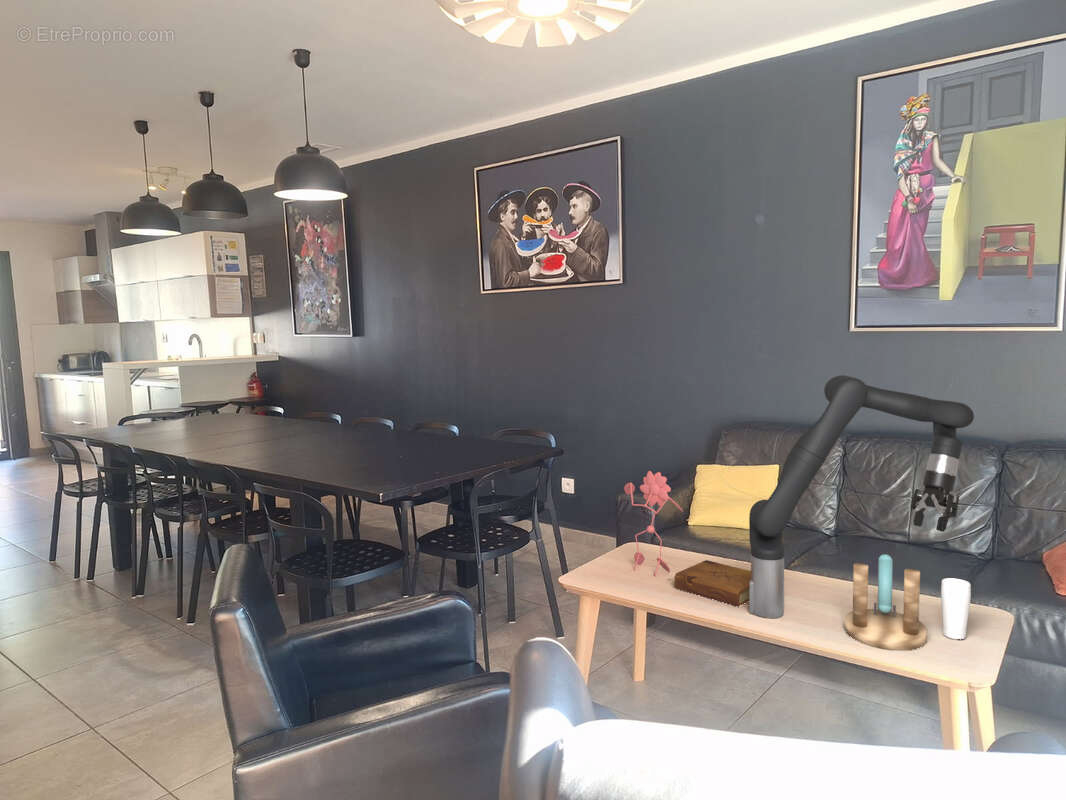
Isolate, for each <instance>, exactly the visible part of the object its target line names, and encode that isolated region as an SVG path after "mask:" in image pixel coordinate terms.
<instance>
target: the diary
mask: <svg viewBox="0 0 1066 800" xmlns="http://www.w3.org/2000/svg"><path fill="white" fill-rule="evenodd" d="M674 574H675V575H674V589H675V588H676V589H675V590H678V589H680V590H679V591H681V590H683V591H682V592H685V591H686V592H685V593H688V592H689V593H688V594H692V593H693V594H692V595H695V594H696V595H695V596H698V595H700V596H699V597H702V596H703V598H705V597H707V598H706V599H709V598H710V599H709V600H712V599H714V600H713V601H715V600H717V601H716V602H719V601H720V602H719V603H722V602H724V603H723V604H725V603H727V605H729V604H731V605H730V606H732V605H734V606H733V607H736V606H738V607H737V608H740V607H739V606H740V605H742V604H744V603H746V602H748V601H749V597H750V580H751V570H747V569H744V568H741V567H740V568H739V567H735V566H732V565H728V564H723V563H719V562H717V561H715V562H714V561H711V560H707V559H705V560H703V561H701V562H698V563H696V564H693V565H691V566H689V567H686V568H685V569H683V570H680V571H678V572H675V573H674ZM748 603H749V602H748ZM746 604H747V603H746ZM744 605H745V604H744ZM742 606H743V605H742Z"/></svg>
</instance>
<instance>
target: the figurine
mask: <svg viewBox="0 0 1066 800" xmlns="http://www.w3.org/2000/svg"><path fill="white" fill-rule="evenodd" d="M667 480H668V479H667V477H666V476H662V473H661V472H660V471H658V472H656V473H655V474H653V472H652V471H651V470H648V471H647V474H646V476H644V477H643V484H641V485H640V486H639V490H640V491H641V492H642V493H643V499H644V500H646V501H645V504H641V503H640V504H637V503H636V504H635V503H634V498H633V496H634V495H633V493H634V492H635V489H636V487H635V485H634V484H633V483H632V482H629V483H626V484H625V485H624V487H623V491H624V492H625V494H626V495H627V496H629V495H630V497H631V506H636V507H644V508H647V509H648V510H650V511H651V512H653V515H652V520H651V524H650V525H648V526H647V527H646V530H644V531H641V532H638V533H637V534H635V535H634V537H635V542H636V547H637V552H635V554H634V555H633V559H634V562H635V563H634V567H633V570H634V571H636V568H637V565H639V566H641V565H642V564H643V563H644V560H646V559H645V555H644V554H643V553H642V552H640V548H639V544H638V543H639V542H638V537H637V536H639V535H642V534H644V533H645V532H647V533H649V534H653V533H654V534H655V535H656V537H657V538H658V539H659V540H660V548H659V549H660V550H659V557H656V562H657V561H658V562H657V566H656V568H655V572H654V575H655V576H654V577H656V576H657V573H658V570H659V567H660V566H661V568H663V569H664V570H665V571H666V572H667V573H669V574H670V572H671V570H670V567H669V566H668V563H666V561H664V560H663V559H662V543H663V542H662V539H661V537H660V536H659V535H658V533H657V532H656V530H655V527H654V525H653V524H654V520H655V516H656V514H657V515H658V513H659V512H661V511H660V510H662V508H663V507H664V505H665V504H666V503H667V502H668V501H670V502H671V503H672V504H673V505H674V506H676V508H678V509H679V510H680V511H681V512H682V513H683V512H684V510H683V509H682V508H681V507H680V505H679V504H678V503H676V502H675V500H673V499H672V498H671V497H670V496H669V494H668V493H669V492H671V491H672V490H671V489H672V488H671V487H670V486H669V484H667ZM656 503H657V506H659V508H658V509H657V511H656V510H655V509H653V508H651V507H653V506H655V504H656ZM648 505H649V506H648ZM669 580H671V578H668V579H667V581H669Z"/></svg>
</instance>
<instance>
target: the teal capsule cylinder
mask: <svg viewBox="0 0 1066 800" xmlns="http://www.w3.org/2000/svg"><path fill="white" fill-rule="evenodd" d="M893 566H894V565H893V558H892V557H891V556H890V555H889V554H881V555H880V556H879V557H878V567H877V569H878V571H877V573H878V574H877V576H878V577H877V609H878V610H879V611H880V612H882V613H885V614H887V613H889V612H891V611H893Z"/></svg>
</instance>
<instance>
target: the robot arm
mask: <svg viewBox="0 0 1066 800" xmlns="http://www.w3.org/2000/svg"><path fill="white" fill-rule="evenodd" d="M824 385H825V386H824V389H823V391H824V393H823V394H824V397H825V399H826V400H827V401H828V404H827V407H826V408H825V410H824V411H823V413H822V415H821V416H820V417H819V419H818V420H817V421H816V422H815V423H813V424H812V425H811V426H810V427H808V428H807V430H805V431H804V432H803V433H802V434H801V436H800V437H799V438H798V439H796V442H795V443H794V445H793V446H792V448H791V450H790V451H789V453H788V455H787V456H786V459H785V461H784V464H783V467H782V468H781V473H780V476H779V479H778V482H777V485H776V486H775V489H774V490H773V492H772V493H771V495H769V498H767V499H760V500H758V501H756V502H754V504H753V505H752V506H751V508H750V511H749V516H748V517H749V519H748V521H749V522H748V523H749V524H748V525H749V528H748V529H749V545H750V571H751V580H750V597H749V602H748V603H749V607H748V608H749V614H752V615H755V616H757V615H758V616H757V617H760V616H761V617H760V618H765V617H766V618H765V619H777V618H780V617H782V616H784V610H785V606H784V605H785V601H784V600H785V597H784V596H785V547H784V543H783V535H782V533H783V532H784V530H785V529H786V527H787V526H788V524H789V522H790V519H791V517H792V516H793V513H794V511H795V509H796V507H797V505H798V503H799V501H800V500H801V498H802V496H803V495H804V493H806V491H807V489H808V488H809V486H810V484H811V483H812V482H813V480H814V478H815V477H816V475H817V474H818V472H819V471H820V469H821V468H822V467H823V465H824V463H825V462H826V460H827V459H828V457H829V454H831V451H832V449H833V448H834V447H835V444H836V443H837V442H838V440H839V438H840V437H841V435H842V433H843V432H844V430H845V429H846V427H847V426H848V424H849V423H850V422H852V419H853V418H854V417H855V415H856V414H857V413H858V412H859V410H860V409H861V408H865V409H871V410H874V411H875V410H876V411H880V412H883V413H886V414H888V415H889V414H890V415H892V416H897V417H900V418H904V419H907V420H913V421H916V422H917V421H918V422H921V423H932V432H933V443H932V447H931V451H930V455H929V458H928V460H927V464H926V469H925V473H924V478H923V482H922V485H923V486H924V489H923V490H922V489H918V488H916V489H915V490H914V493H913V495H912V496H913V497H912V501H911V504H910V509H911V510H914V513H915V514H914V518H913V526H915V527H922V526H923V522H924V517H925V513H926V512H927V511H928V510H930V509H931V508H934V509H935V510H937V512H938V514H939V516H938V518H937V519H938V520H937V524H936V531H938V532H942V533H944V532H946V529H947V526H948V523H949V519H951V518H954V519H955V518H956V517H957V513H958V512H957V511H958V507H959V501H960V497H959V496H958V495H955V494H951V492H953V491H954V489H955V485H956V484H955V483H956V478H957V475H958V470H959V461H960V455H961V450H962V446H963V445H962V444H963V441H962V440H961V439H960V438H958V437H957V429H963V428H967V427H969V426H970V425H971V424H972V423H973V421H974V419H975V414H974V411H973V410H972V408H971V407H970V406H968V405H967V404H965V403H962V402H957V401H950V400H944V399H942V400H941V399H934V398H930V397H926V396H922V395H918V394H914V393H907V392H903V391H894V390H890V389H884V388H880V387H875V386H871V385H867V384H866V383H865V382H864V381H863V380H862V379H860V378H856V377H854V376H853V377H852V376H849V375H843V374H842V375H836V376H833V377H832V378H830V379H829V380H828V381H827V382H826V384H824ZM916 504H917V505H916Z"/></svg>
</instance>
